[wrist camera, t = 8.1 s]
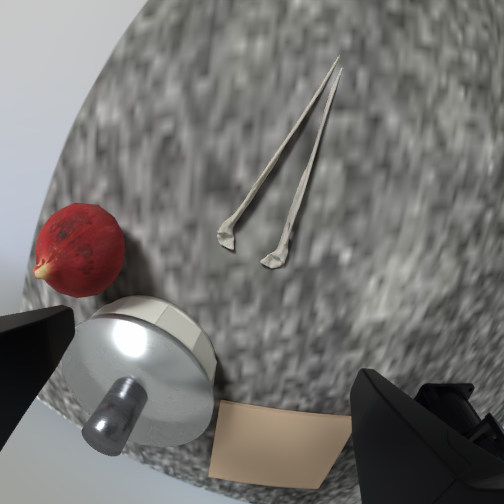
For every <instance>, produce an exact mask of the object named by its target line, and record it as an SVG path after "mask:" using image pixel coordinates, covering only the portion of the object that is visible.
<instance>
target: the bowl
mask: <svg viewBox="0 0 504 504" xmlns="http://www.w3.org/2000/svg"><path fill="white" fill-rule="evenodd" d="M106 313H117V314H125V315H130V316H134V317H137V318H141V319H144V320H146V321H148V322H151V323H153V324H155V325H157V326H159V327H160V328H162V329H164V330H166V331H167V332H169V333H170V334H172V335H173V336H174V337H176V338H177V339H178V340H180V341H181V342H182V343H183V344H184V345H185V346H186V347H187V348H188V349H189V350H190V351H191V352H192V353H193V354H194V355H195V356H196V357H197V359H198V360H199V361H200V362H201V364H202V365H203V367H204V369H205V370H206V372H207V374H208V376H209V378H210V381H211V384H212V387H213V386H214V379H215V372H216V365H217V361H216V356H215V352H214V348H213V346H212V343H211V341H210V339H209V337H208V336H207V334H206V332H205V331H204V330H203V328H202V327H201V326H200V325H199V324H198V323H197V321H196V320H195V319H194V318H192V317H191V316H190V315H189V314H188V313H187V312H185V311H184V310H182V309H181V308H179V307H178V306H176V305H174V304H172V303H170V302H168V301H165V300H163V299H160V298H156V297H152V296H146V295H133V296H127V297H123V298H120V299H118V300H115V301H114V302H112V303H110V304H107V305H104V306H103V307H101V308H100V309H99V310H98V311H97V312H96V313H95V314H93V315H92V316H95V315H99V314H106ZM92 316H91V317H92Z"/></svg>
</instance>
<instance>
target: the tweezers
mask: <svg viewBox="0 0 504 504" xmlns="http://www.w3.org/2000/svg"><path fill="white" fill-rule="evenodd" d="M339 56H340V55H339ZM338 59H339V57H338V58H337V59H336V61H335V63H334V64H333V66H332V68H331V69H330V71H329V72H328V74H327V76H326V77H325V79H324V80H323V82H322V84H321V86H320V87H319V89H318V91H317V92H316V94H315V95H314V97H313V98H312V100H311V102H310V103H309V104H308V106H307V108H306V109H305V111H304V112H303V114H302V115H301V117H300V118H299V120H298V121H297V123H296V125H295V126H294V128H293V129H292V131H291V132H290V134H289V135H288V137H287V138H286V140H285V141H284V143H283V144H282V145H281V147H280V148H279V149H278V151H277V152H276V154H275V155H274V157H273V158H272V160H271V161H270V163H269V164H268V166H267V167H266V169H265V170H264V172H263V173H262V175H261V176H260V177H259V179H258V180H257V182H256V183H255V185H254V186H253V188H252V189H251V191H250V193H249V194H248V196H247V197H246V199H245V200H244V202H243V203H242V204H241V206H240V207H239V208H238V210H237V211H236V212H235V213H234V214H233V215H232V216H231V217H230V218H229V219H227V220H226V221H224V222H223V224H222V225H221V226H220V228H219V230H218V231H217V233H218V234H217V239H218V241H219V243H220V245H223V246H225V247H226V248H229V249H231V250H234V235H233V227H234V225H235V224H236V222H237V220H238V219H239V218H240V216H241V215H242V213H243V212H244V210H245V209H246V208H247V206H248V205H249V203H250V202H251V201H252V199H253V198H254V196H255V194H256V192H257V191H258V189H259V188H260V186H261V185H262V183H263V182H264V180H265V179H266V177H267V176H268V174H269V173H270V171H271V170H272V168H273V167H274V165H275V164H276V162H277V160H278V158H279V156H280V154H281V152H282V150H283V148H284V147H285V145H286V144H287V142H288V141H289V139H290V138H291V136H292V135H293V133H294V132H295V131H296V129H297V128H298V126H299V125H300V123H301V122H302V120H303V118H304V117H305V115H306V114H307V112H308V111H309V109H310V107H311V106H312V104H313V103H314V102H315V100H316V98H317V97H318V95H319V94H320V92H322V90H323V88H324V86H325V84H326V82H327V80H328V78H329V77H330V75H331V73H332V71H333V69H334V67H335V66H336V64H337V61H338ZM342 69H343V67H342V68H341V70H340V72H339V75H338V77H337V79H336V81H335V82H334V84H333V86H332V88H331V91H330V93H329V97H328V101H327V104H326V107H325V109H324V115H323V118H322V121H321V124H320V127H319V131H318V135H317V138H316V142H315V145H314V148H313V151H312V154H311V157H310V160H309V163H308V166H307V168H306V170H305V172H304V174H303V176H302V178H301V181H300V183H299V186H298V189H297V192H296V195H295V198H294V200H293V203H292V206H291V208H290V211H289V215H288V218H287V222H286V224H285V227H284V230H283V233H282V237H281V240H280V242H279V245H278V248H277V249H276V251H274V252H273V253H270V254H268V255H267V257H265V258H264V259H262V260H261V261H260V262H261V263H262V264H264V265H266V266H267V267H270V268H277V267H280V266H281V265H282V263H283V264H284V263H285V260H286V258H287V255H288V241H289V237H290V233H291V229H292V226H293V223H294V220H295V217H296V215H297V212H298V210H299V207H300V204H301V201H302V198H303V195H304V192H305V188H306V185H307V182H308V178H309V175H310V171H311V168H312V164H313V161H314V157H315V154H316V151H317V147H318V144H319V140H320V137H321V134H322V130H323V127H324V124H325V121H326V117H327V114H328V111H329V108H330V105H331V102H332V99H333V96H334V93H335V90H336V87H337V84H338V81H339V78H340V75H341V72H342ZM289 227H290V228H289ZM288 230H289V231H288Z"/></svg>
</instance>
